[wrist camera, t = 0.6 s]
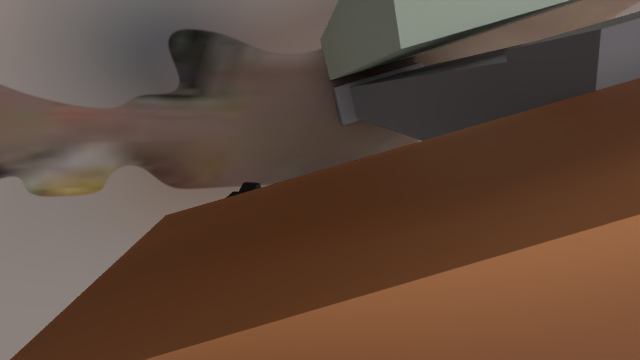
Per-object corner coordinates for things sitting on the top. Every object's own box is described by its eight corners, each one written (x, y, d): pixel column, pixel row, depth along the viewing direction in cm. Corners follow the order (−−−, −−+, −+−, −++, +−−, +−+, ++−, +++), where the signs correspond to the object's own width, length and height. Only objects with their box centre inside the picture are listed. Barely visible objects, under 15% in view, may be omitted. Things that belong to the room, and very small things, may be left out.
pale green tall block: (320, 40, 33) (380, -91, 10) (410, 14, 33) (675, -175, 10) (330, 80, 34) (400, 49, 11) (415, 55, 34) (654, -24, 12)
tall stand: (331, 88, 34) (600, 29, 4) (416, 63, 35) (1281, -168, 4) (340, 124, 36) (579, 268, 6) (421, 100, 36) (1071, 123, 6)
